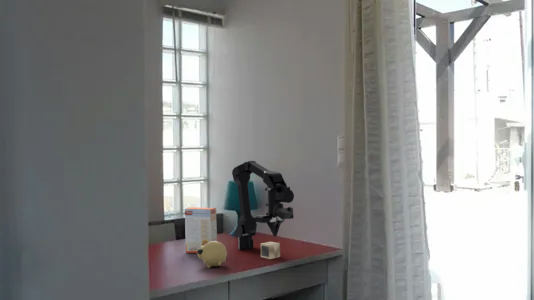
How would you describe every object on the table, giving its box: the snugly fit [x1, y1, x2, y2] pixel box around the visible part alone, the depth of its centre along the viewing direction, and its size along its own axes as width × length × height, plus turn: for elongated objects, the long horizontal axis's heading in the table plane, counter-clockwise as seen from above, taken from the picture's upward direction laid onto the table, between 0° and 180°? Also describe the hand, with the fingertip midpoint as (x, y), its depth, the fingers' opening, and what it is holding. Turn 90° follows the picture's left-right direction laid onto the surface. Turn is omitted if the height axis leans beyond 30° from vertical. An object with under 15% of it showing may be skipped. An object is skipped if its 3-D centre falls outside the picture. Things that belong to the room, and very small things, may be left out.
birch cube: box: [260, 241, 281, 260], centre depth 220 cm, size 6×6×6 cm
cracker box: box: [184, 206, 218, 254], centre depth 235 cm, size 14×6×21 cm, turn 65°
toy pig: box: [196, 240, 228, 269], centre depth 207 cm, size 10×12×11 cm
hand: (275, 236), depth 222 cm, fingers closed
